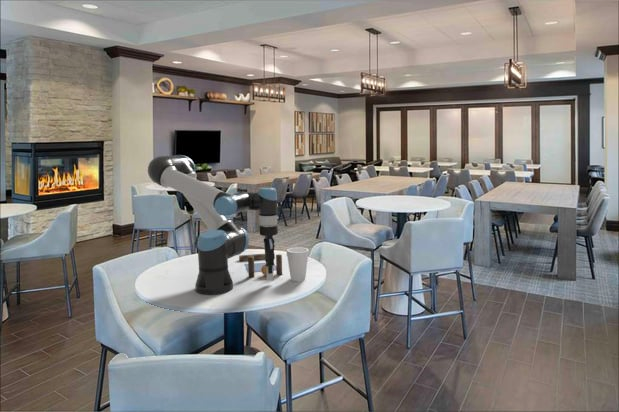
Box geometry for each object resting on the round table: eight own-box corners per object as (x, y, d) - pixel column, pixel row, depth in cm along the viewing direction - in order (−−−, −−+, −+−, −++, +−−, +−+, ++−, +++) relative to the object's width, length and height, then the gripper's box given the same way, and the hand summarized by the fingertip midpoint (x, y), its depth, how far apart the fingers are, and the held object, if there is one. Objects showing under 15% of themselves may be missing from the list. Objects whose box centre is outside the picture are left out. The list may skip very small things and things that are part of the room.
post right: (277, 275, 202) (276, 255, 200) (276, 273, 204) (275, 254, 203) (282, 274, 202) (282, 255, 201) (281, 273, 205) (281, 254, 203)
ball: (262, 278, 201) (262, 272, 197) (260, 268, 204) (260, 261, 200) (274, 277, 202) (274, 271, 198) (272, 266, 205) (272, 260, 201)
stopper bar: (239, 261, 226) (239, 256, 226) (239, 260, 228) (239, 255, 228) (274, 258, 231) (274, 253, 230) (274, 257, 233) (274, 252, 232)
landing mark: (248, 272, 207) (248, 272, 207) (245, 264, 220) (245, 264, 220) (278, 270, 210) (278, 269, 210) (273, 262, 223) (273, 261, 223)
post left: (248, 277, 199) (248, 258, 197) (248, 276, 201) (247, 256, 200) (254, 277, 199) (254, 257, 198) (254, 275, 202) (253, 256, 200)
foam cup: (306, 282, 191) (305, 253, 189) (285, 281, 192) (284, 252, 190) (310, 276, 200) (310, 247, 198) (290, 275, 202) (289, 247, 200)
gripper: (280, 227, 180) (281, 284, 183) (274, 221, 193) (276, 274, 196) (261, 228, 178) (263, 285, 182) (257, 222, 191) (259, 276, 194)
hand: (270, 280), depth 189 cm, fingers closed
